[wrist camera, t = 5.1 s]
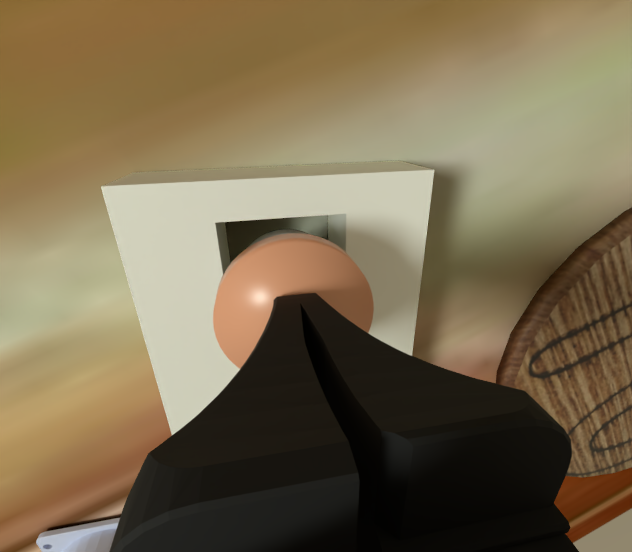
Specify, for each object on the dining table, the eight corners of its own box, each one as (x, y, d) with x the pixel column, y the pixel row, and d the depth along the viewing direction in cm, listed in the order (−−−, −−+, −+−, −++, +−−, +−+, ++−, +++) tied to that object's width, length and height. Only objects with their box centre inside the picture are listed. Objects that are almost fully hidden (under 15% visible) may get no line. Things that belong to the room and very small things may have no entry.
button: (345, 321, 15) (370, 371, 12) (230, 335, 15) (225, 392, 12) (347, 209, 13) (377, 236, 10) (212, 218, 12) (199, 250, 9)
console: (376, 447, 25) (395, 495, 21) (207, 478, 23) (200, 534, 20) (398, 160, 16) (434, 169, 13) (133, 172, 14) (100, 186, 11)
